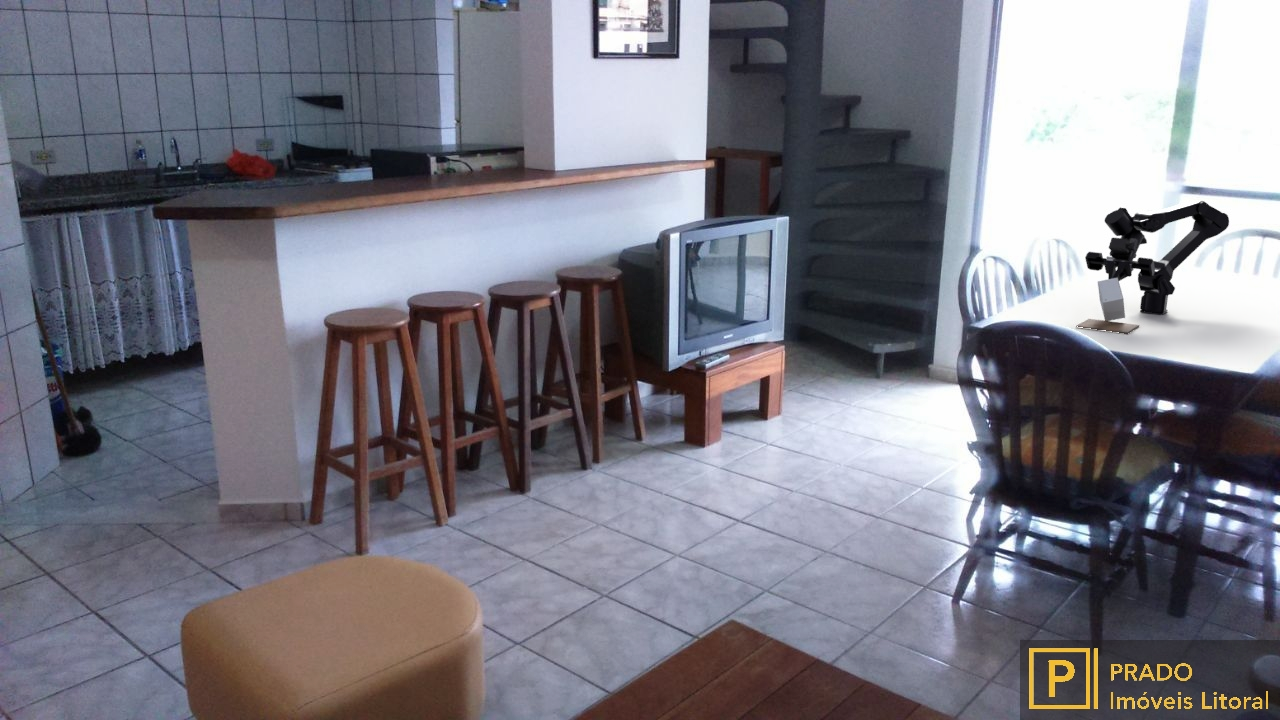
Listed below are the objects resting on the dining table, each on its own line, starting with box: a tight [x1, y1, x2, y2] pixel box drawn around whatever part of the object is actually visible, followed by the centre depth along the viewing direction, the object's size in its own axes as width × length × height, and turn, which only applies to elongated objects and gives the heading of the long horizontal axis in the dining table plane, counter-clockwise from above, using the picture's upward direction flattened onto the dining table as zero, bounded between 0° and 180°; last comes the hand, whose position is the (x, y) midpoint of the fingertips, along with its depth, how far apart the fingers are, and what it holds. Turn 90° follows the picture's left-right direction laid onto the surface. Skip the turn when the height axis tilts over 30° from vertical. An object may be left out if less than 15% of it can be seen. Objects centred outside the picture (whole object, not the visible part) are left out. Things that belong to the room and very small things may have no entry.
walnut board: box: [1075, 318, 1140, 335], centre depth 289 cm, size 14×12×1 cm
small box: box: [1097, 278, 1126, 321], centre depth 292 cm, size 8×6×10 cm
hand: (1109, 285), depth 293 cm, fingers closed
